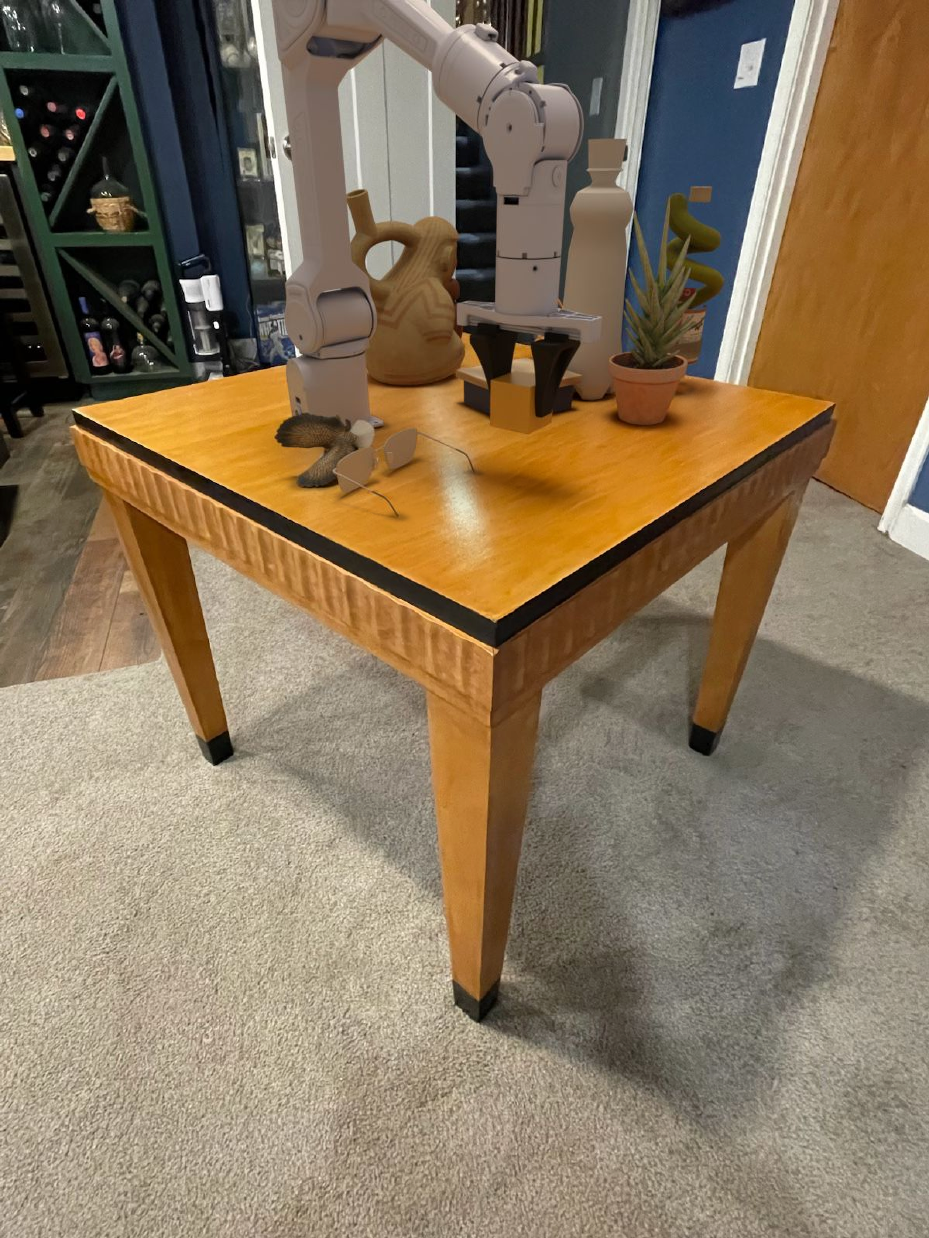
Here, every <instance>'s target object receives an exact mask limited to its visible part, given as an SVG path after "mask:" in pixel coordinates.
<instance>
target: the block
mask: <svg viewBox="0 0 929 1238" xmlns="http://www.w3.org/2000/svg"><path fill="white" fill-rule="evenodd" d="M552 422H553V413H551V414H548V415H546V416H544V417H542V418H539V417H536V415H535V374H534V373H528V372H522V371H517V370H516V371H513V372H511V373H508V374H505V375H503V376H500V377H498V378H495V379H492V380H491V398H490V414H489V426H490V427H493V428H498V429H502V430H505V431H511V432H516V433H520V434H523V435H530V434H532V433H534V432H537V431H538V430H540V429H542V428H544V427H546V426H548V425H551V424H552Z"/></svg>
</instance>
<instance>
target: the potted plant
mask: <svg viewBox="0 0 929 1238" xmlns="http://www.w3.org/2000/svg"><path fill="white" fill-rule="evenodd" d="M670 196H671V195H669V196H668V198H669V200H668V204H667V210H666V209H665V218H664V223H663V229H662V237H661V243H660V253H659V261H658V269H657V276H656V278H655V274H654V271H653V268H652V264H651V262H650V258H649V254H648V251H647V247H646V244H645V240H644V237H643V233H642V229H641V226H640V223H639V220H638V215H637V212H636V210H633V223H634V231H635V236H636V242H637V247H638V253H639V257H640V261H641V262H640V263H641V266H642V270H643V274H644V278H645V286H646V290H644V289H642V287H641V286H640V284H639V282H638V281H637V279H636V277H635V275H634V273H633V270H632V268H631V267H629V268H628V272H629V276H630V277H629V278H630V281H631V284H632V287H633V290H634V292H635V295H636V298H637V300H638V304H639V305H640V308H641V310H642V314H643V316H642V315H640V314H639V313H638V312H636V311H635V309H634V308H633V306H632V304H631V303H630V301H629V300H628V298H625V304H626V306H625V307H626V309H627V310H623V316H624V317H625V319H626V322H627V323H628V325H629V328H631V330H632V331H633V333H634V334H635V335H636V336H637V338H636V337H635V335H634V334H633V333H632V332H631V331H630V329H629V328H628V327H625V331H626V334H627V336H628V337H629V340H630V341H631V343H632V344H633V345H634V347H631V346H630V345H629V351H626V352H622V353H621V354H618V355H614V356H612V357H611V358H610V359H609V373H610V374H611V375H612V377H613V383H614V390H613V391H614V395H615V402H616V407H617V414H618V418H619V420H621V421H623V422H624V423H627V424H632V425H638V426H651V425H656V424H661V423H662V422H664V420H665V418H666V416H667V414H668V411H669V409H670V406H671V403H672V401H673V400H674V396H675V395H676V391H677V389H678V387H679V385H680V382H681V380H683V378H684V377H685V376H687V375H686V374H687V368H688V365H687V364H688V363H687V360H686V359H685V358H684V357H682V356H679V355H676V354H677V353H678V352H679V351H680V350H677V351H676V352H674V353H672V354H671V353H668V351H669V350H670V349H671V348H672V347H673V346H674V345H675V344H676V343H677V342H678V341H679V340H680V339H681V338H682V337H683V335H684V334H685V333H686V332H687V331H688V330H689V329H690V328H691V327H692V326H693V325H694V324H695V323H696V321H694V322H693V323H692V324H690V325H689V326H687V327H686V328H684V329H683V330H681V329H682V328H683V327H684V326H685V325H686V324H688V322H689V321H690V320H691V319H692V318H693V317H694V315H691V316H690V317H689V318H688V319H687V320H686V321H685V322H684V323H683V324H682V325H680V326H679V327H677V326H678V325H679V323H680V322H681V320H682V318H683V317H681V316H682V314H683V313H684V312H685V311H686V309H687V308H688V307H689V305H690V304H691V302H692V301H693V299H694V298H695V296H696V292H695V293H694V294H693V295H692V296H691V297H690V298H689V299H688V300H687V301H686V302H685V303H684V304H683V305H682V306H681V307H680V308H678V309H677V306H676V305H677V302H678V300H679V298H680V296H681V294H682V291H683V289H684V287H686V284H687V282H688V280H689V279H688V277H689V274H690V270H691V269H690V267H689V269H688V271H687V272H686V274H685V276H684V277H683V273H684V268H685V266H684V267H682V265H683V262H684V259H685V257H687V256H686V255H687V254H686V252H687V249H688V245H689V241H690V236H691V234H690V235H689V237H688V239H687V240H686V242H685V244H684V246H683V249H682V251H681V253H680V255H679V257H678V260H677V262H676V264H675V266H674V268H673V270H672V272H671V271H670V274H669V276H668V278H667V268H666V247H667V244H668V235H669V228H670V227H669V215H670ZM681 267H682V270H681ZM680 270H681V272H680ZM679 273H680V274H679ZM676 309H677V310H676ZM626 311H627V312H628V313H627V312H626ZM628 314H629V315H630V316H629V315H628ZM680 317H681V318H680ZM679 318H680V319H679ZM678 319H679V320H678ZM676 322H677V323H676ZM675 323H676V324H675ZM674 324H675V325H674ZM676 327H677V328H676ZM680 330H681V331H680ZM679 331H680V332H679ZM678 332H679V333H678Z"/></svg>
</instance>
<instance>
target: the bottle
mask: <svg viewBox="0 0 929 1238" xmlns="http://www.w3.org/2000/svg"><path fill="white" fill-rule="evenodd" d="M627 140H628V139H627V138H591V139H588V141H587V144H588V145H587V146H588V149H587V150H588V168H587V169H586V170H585V171H586V172H588V174H589V175H590V178H591V181H592V182H591V184H590V185H588V186H586V187H584V188H582V189H581V190H578V191H577V192H576V193H575V196H574V198H573V200H572V202H571V205H570V207H569V214H570V215H569V216H570V221H571V224H572V226H573V233H572V235H571V236H572V237H571V240H570V244H569V248H568V256H567V264H566V273H565V281H564V282H565V284H564V291H563V302H562V305H563V309H564V310H569V311H573V312H578V313H582V314H587V315H592V316H599V317H602V325H601V335H600V340H598V341H595V342H593V343H590V344H588V343H581V344H580V347H579V348H578V350H577V352H576V353H575V355H574V357H573V358H572V360H571V362H570V364H569V366H568V368H567V371H570V372H573V373H577V374H580V375H582V382H581V383H578V384H573V394H572V396H573V395H574V394H576V393H578V395H579V397H580V398H581V399H582V400H588V401H594V400H600V399H602V398H604V396H605V395H606V394H608V395H611V394H612V393H613V392H614V391H615V390H614V383H613V377H612V375H611V374H610V373H609V359H610V358H611V357H612V356H614V355H618V354H621V353H623V345H622V344H623V343H622V334H623V333H622V331H623V316H624V312H623V311H624V302H625V289H626V274H627V273H626V272H627V257H628V244H627V230H626V229H627V227H628V225H629V224H630V222H631V220H632V216H633V214H634V211H635V208H634V204H633V201H632V197H631V194H630V191H628V190H627V189H624V188H623V187H621V186H620V185H617V182H616V180H617V179H618V177H619V175H620V173H621V172H623V171H624V169H623V162H624V157H625V151H626V147H627V142H628V141H627Z"/></svg>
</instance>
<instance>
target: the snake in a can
mask: <svg viewBox="0 0 929 1238" xmlns="http://www.w3.org/2000/svg"><path fill="white" fill-rule="evenodd" d="M713 188H714V187H713V186H690V193H689V196H688V199H687V196H686V195H685V194H684V193H681V192H676V193H675V192H674V193H672V194H671V195H669V196H670V215H669V227H668V228H669V229H670V231H671V232H672V233H673V234H674V235H675V236H676V237H673V238H672V239H671V240H670V241H669V242H667V247H666V269H667V270H669V272H670V273H671V272H672V270H673V268H674V266H675V264H676V262H677V260H678V257H679V255H680V253H681V251H682V249H683V246H684V244H685V242H686V240H687V239H688V237H689V235H690V234H691V236H690V241H689V245H688V249H687V252H686V255H691V254H700V253H702V254H703V253H712V252H714V251H716V250H718V248H719V247H720V246H721V242H722V236H721V233H720V232H719V231H718V230H717V229H715V228H713V227H710V226H708V225H706V224H704V223H702V222H700V220H697V219H696V218H694V216H692V215H691V214H690V213H689V211H688V205H689V204H688V202H689V203H710V202H711V199H712V190H713ZM668 200H669V197H668V198H667V200H666V202H665V211H666V210H667V204H668ZM684 266H685V268H684V273H683V276H682V278H684V276H685V274H686V272H687V271H688V269H689V267H690V269H691V270H690V274H689V277H688V280H692V281H695V282H698V283H701V284H702V285H703V284H704V285H703V286H701V287H699V288H696V287H686V286H684V289H683V291H682V294H681V296H680V298H679V300H678V302H677V305H676V306H677V309H678V308H680V307H681V306H682V305H683V304H684V303H685V302H686V301H687V300H688V299H689V298H690V297H691V296H692V295H693V294H694V293H695V292H696V296H695V298H694V299H693V301H692V302H691V304H690V305H689V307H688V308H687V309H686V311H685V312H684V313H683V314H682V316H681V317H683V318H682V320H681V322H680V323H679V325H678V326H677V327H679V326H680V325H682V324H683V323H684V322H685V321H686V320H687V319H688V318H689V317H690V316H691V315H694V317H693V318H692V319H691V320H690V321H689V322H688V324H686V325H685V326H684V327H683V328H682V329H681V330H683V329H684V328H686V327H687V326H689V325H690V324H692V323H693V322H694V321H696V323H695V324H694V325H693V326H692V327H691V328H690V329H689V330H688V331H687V332H686V333H685V334H684V335H683V337H682V338H681V339H680V340H679V341H678V342H677V343H676V344H675V345H674V346H673V347H672V348H671V349H670V350H669V351H668V353H671V354H672V353H674V352H676V351H677V350H680V351H679V352H678V353H677V354H676V355H679V356H682V357H684V358H685V359H686V360H687V363H688V364H687V366H691V365H695V364H697V363H698V358H699V357H700V356H701V350H702V346H703V345H702V344H703V337H702V336H703V329H704V323H705V318H706V312H707V304H705V303H707V302H709V301H710V300H712V299H713V298H714V297H716V296H717V295H719V294H720V293H721V291H722V289H723V287H724V284H725V278H724V277H723V275H722V274H721V273H720V272H719V271H718V270H716V269H714V268H713V267H710V266H709V265H706V264H703V263H701V262H698V261H696V260H693V259H691V258H690V257H689V258H688V257H687V256H685V259H684V262H683V265H682V267H684ZM682 267H681V270H682ZM681 270H680V272H681ZM679 274H680V273H679ZM701 305H702V308H697V307H699V306H701ZM677 309H676V310H677ZM681 317H680V318H681ZM680 318H679V319H680ZM679 319H678V320H679ZM676 323H677V322H676ZM676 323H675V324H676ZM675 324H674V325H675ZM677 327H676V328H677ZM681 330H680V331H681ZM680 331H679V332H680ZM679 332H678V333H679Z"/></svg>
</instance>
